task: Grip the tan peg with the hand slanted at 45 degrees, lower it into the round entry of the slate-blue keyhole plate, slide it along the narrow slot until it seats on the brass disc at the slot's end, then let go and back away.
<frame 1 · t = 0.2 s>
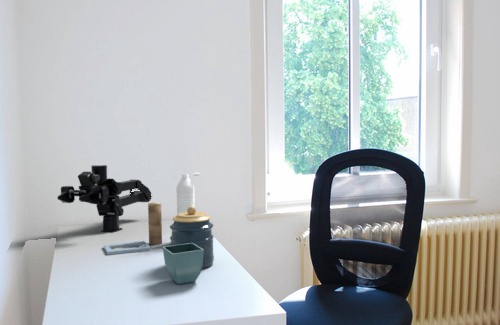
hand: (68, 198, 168), 17 cm above the table, tool horizontal, fingers open, 9 cm apart
canister: (192, 265, 141), on the table
tan peg: (155, 243, 169), on the table
keyhole plate: (125, 249, 161), on the table
water bottle: (189, 242, 172), on the table
flower pot: (183, 281, 126), on the table
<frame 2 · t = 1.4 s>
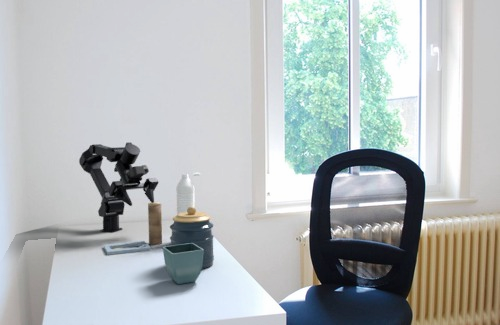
hand: (142, 203, 174), 14 cm above the table, tool tilted 45°, fingers open, 9 cm apart
nothing on the table moved.
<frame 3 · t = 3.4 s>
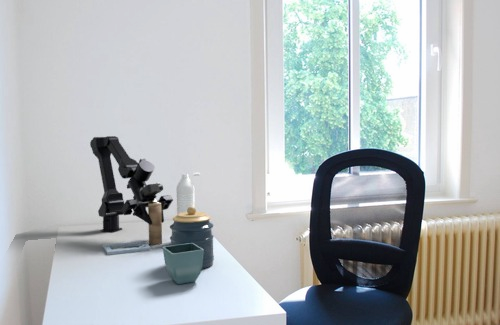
hand: (157, 223, 168), 8 cm above the table, tool tilted 45°, fingers closed on tan peg, 5 cm apart
tan peg: (155, 243, 169), on the table, touching gripper
everything else where it was.
when the fingers open (8 cm above the table, at t = 7.2 s): tan peg stays where it is, resting on keyhole plate.
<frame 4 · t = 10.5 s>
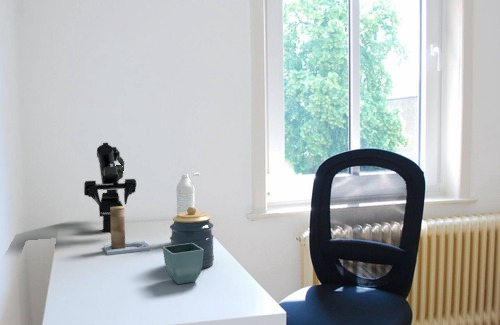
hand: (113, 204, 173), 14 cm above the table, tool tilted 45°, fingers open, 9 cm apart
tan peg: (118, 249, 160), resting on keyhole plate
everything else where it was.
at the end: tan peg 0.1 cm from the target spot, resting on keyhole plate; tan peg tilted 0°; the gripper is holding nothing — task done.
